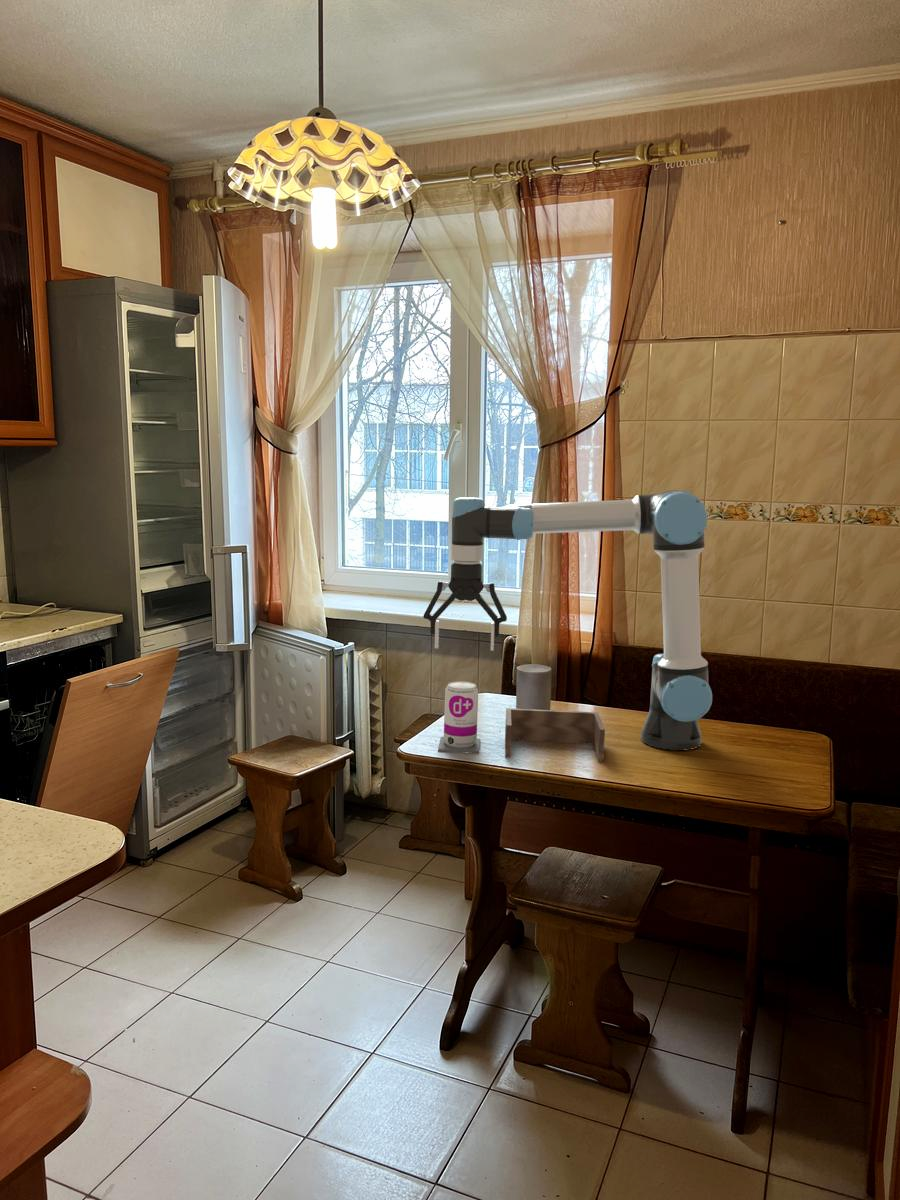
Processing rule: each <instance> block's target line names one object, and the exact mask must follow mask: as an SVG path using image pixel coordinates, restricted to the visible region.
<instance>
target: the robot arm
mask: <svg viewBox="0 0 900 1200" xmlns="http://www.w3.org/2000/svg"><path fill="white" fill-rule="evenodd" d="M707 524H708V512H707V510H706V507H705V505H704V504H703V501H702V500H701V499H700V498H699V497H698V496H696V495H695V494H693V493H691V492H689V491H685V490H674V489H673V490H666V491H662V492H657V493H650V494H639V495H638V494H637V495H635V496H634V498H633V499H617V500H616V499H615V500H596V501H595V500H593V501H592V500H591V501H589V500H588V501H569V502H566V501H565V502H549V503H548V502H547V503H546V502H545V503H532V504H531V503H530V504H529V503H528V504H527V503H526V504H525V503H524V504H521V503H520V504H516V503H509V504H506V505H503V506H486V504H485V500H484V499H483V498H481V497H457V498H455V499H454V501H453V505H452V516H451V547H450V548H451V549H450V550H451V554H450V555H451V556H450V557H451V560H452V561H453V562H451V565H450V581H449V582H447V581H443V580H438V582H437V587H436V591H435V593H434V595H433V596H432V598H431V600H430V603H429V604H428V606H427V608H426V609H425V612H424V614H423V616H422V617H423V619H424V620H428V621H429V622H430V634H431V635H434V649H439V639H440V638H439V637H440V636H439V635H440V620H437V619H438V618H439V617H440V616H441V615H442V614H443V613H444V612H445V610H446V609H447V608H448V607H449V606H450V605H451V604H452V603H453V602H454V601H455V599H456V600H458V601H460V602H461V601H468V602H473V601H476V602H477V603H478V604H479V605H480V607H482V608H483V610H484V611H485V612H486V614H487V615H488V617H490V619H491V620H492V622H491V623H490V624H491V625H490V626H491V629H490V651H492V652H493V651H495V649H494V647H495V638H496V637H497V638H498V637H499V635H500V624H501V623H504V622H507V620H508V617H507V614H506V611H505V610H504V608H503V606H502V603H501V602H500V599H499V597H498V595H497V593H496V590H495V589H496V588H495V583H494V582H493V581H491V582H488V583H486V582H485V583H483V580H482V579H483V564H482V563H481V562H482V561H483V555H484V554H483V552H484V550H483V548H484V539H503V540H504V539H505V540H517V541H520V540H530V539H532V538H533V537H534V535H535V534H564V533H587V532H590V533H592V532H617V531H633V532H635V533H636V534H637V535H643V534H644V535H645V534H649V535H652V537H653V538H652V539H653V541H652V542H653V543H652V545H653V546H652V547H653V551H654V553H655V554H657V555H658V556H659V558H660V575H661V576H660V583H661V606H662V607H661V608H662V610H661V611H662V635H663V636H662V638H663V639H662V640H663V653H657V654H655V655H654V656H653V659H652V663H651V669H652V670H651V684H650V685H651V686H650V687H651V688H650V697H649V698H650V699H649V700H650V702H649V711H648V712H647V713H648V714H647V716H646V718H645V720H644V721H645V722H644V723H643V725H642V728H641V732H640V740H641V741H643V742H642V743H643V744H645V743H646V745H647V744H648V745H647V746H650V747H652V746H654V747H653V748H656V747H658V748H657V749H660V748H663V749H662V750H666V749H671V750H670V751H676V750H684V749H691V748H695V747H698V746H699V745H700V744H701V745H702V732H701V729H700V726H699V722H698V720H700V719H701V718H702V717H704V716H705V715H706V714H708V712H709V710H710V708H711V706H712V703H713V693H712V688H711V686H710V685H709V662H708V661H707V659H705V658H704V657H703V656H702V650H701V645H702V643H701V615H700V613H701V610H700V579H699V578H700V576H699V555H700V554H701V553H702V552H703V551H704V550H705V547H706V546H705V545H706V544H705V532H706V531H705V530H706V528H707V526H708V525H707ZM447 588H448V589H449V590H450V592H451V594H450V595H449V597H447V598H446V600H445V601H444V602H443V603H442V604H441V605H440V606H439V607H438V608H437V610H436V611H434V613H433V614H431V613H432V611H433V609H434V608H435V605H436V603H437V601H438V600H439V598H440V596H441V594H442V592H443V591H445V590H446V589H447ZM484 589H485V591H486V592H487V593H489V595H490V597H491V599H492V601H493V603H494V606H495V608H496V610H497V612H498V613H499V616H498V615H497V614H496V613H495V612H494V611H493V609H492V608H491V607H490V605H489V604H488V603H487V601H486V600H485V599H484V598H483V596H482V595H481V592H482V591H483V590H484Z"/></svg>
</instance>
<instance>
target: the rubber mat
mask: <svg viewBox="0 0 900 1200" xmlns="http://www.w3.org/2000/svg"><path fill="white" fill-rule="evenodd" d="M480 746H481V738H479V737H478V738H477V742H476V743H475V744H474V745H473V746H471V747H468V748H455V747H450V746H448V745H447V744H446V743H445V742H444V736H441V737H440V738H439V744H438V749H437V751H438V752H441V753H459V752H468V753H467V754H480V749H479V748H480Z"/></svg>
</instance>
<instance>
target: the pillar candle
mask: <svg viewBox="0 0 900 1200" xmlns="http://www.w3.org/2000/svg"><path fill="white" fill-rule="evenodd" d="M515 695H516V697H515V709H536V710H551V701H552V699H551V698H552V668H551V667H550V666H549V665H543V664H538V663H537V664H536V663H533V664H532V663H531V664H530V663H529V664H527V663H526V664H521V665H519V666H517V667H516V694H515Z"/></svg>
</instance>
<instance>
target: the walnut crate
mask: <svg viewBox="0 0 900 1200" xmlns="http://www.w3.org/2000/svg"><path fill="white" fill-rule="evenodd" d="M505 709H506V710H505V726H504V727H505V730H504V758H507V757H510V758H511V743H512V741H520V740H523V742H541V743H542V741H543V742H546V743H563V742H565V743H566V744H567V743H568V744H583V745H584V744H588V745H589V744H590V745H592V747H593V750H594V754H595V757H596V760H597V762H598V763H604V755H605V754H604V753H605V738H606V737H605V736H606V735H605V733H606V728H605V726H604V723H603V721H602V718H601V715H600V713H599V712H598V711H596V712H595V711H581V710H580V711H577V710H576V711H575V710H573V711H572V710H557V709H555V710H552V709H550V710H536V709H516V708H512V707H511V708H510V707H509V708H508V707H506V708H505ZM565 743H564V744H565Z"/></svg>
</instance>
